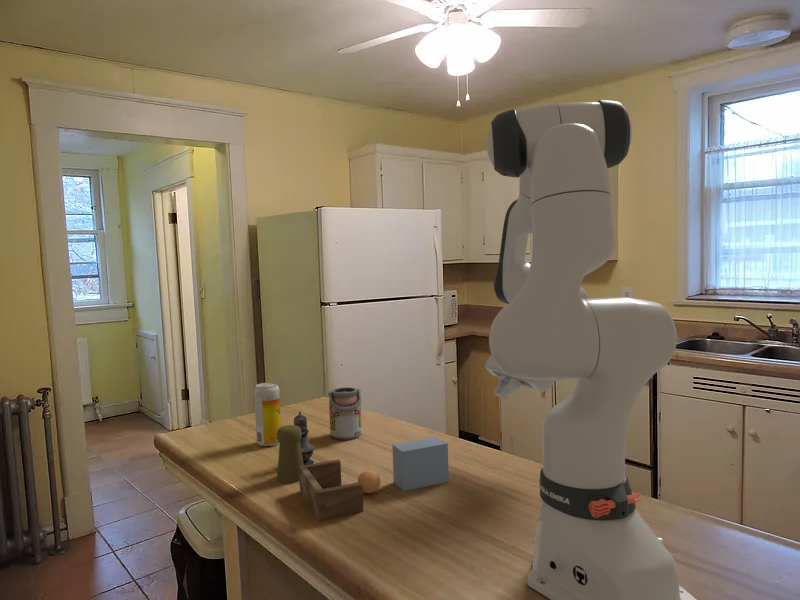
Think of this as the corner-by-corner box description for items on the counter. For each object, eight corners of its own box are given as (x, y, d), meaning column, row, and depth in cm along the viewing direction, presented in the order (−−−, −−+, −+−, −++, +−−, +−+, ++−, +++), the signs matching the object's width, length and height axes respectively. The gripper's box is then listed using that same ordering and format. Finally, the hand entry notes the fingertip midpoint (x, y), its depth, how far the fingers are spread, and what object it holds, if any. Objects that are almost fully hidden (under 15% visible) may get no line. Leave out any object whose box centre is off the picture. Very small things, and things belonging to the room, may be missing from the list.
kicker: (448, 482, 115) (447, 443, 115) (403, 491, 111) (402, 451, 111) (437, 473, 120) (436, 436, 119) (393, 482, 116) (392, 444, 115)
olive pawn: (299, 483, 117) (297, 431, 116) (272, 482, 118) (269, 430, 117) (310, 472, 122) (307, 422, 122) (283, 471, 124) (281, 422, 123)
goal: (363, 511, 103) (362, 484, 103) (319, 520, 100) (317, 493, 99) (339, 483, 116) (338, 459, 116) (300, 490, 113) (298, 466, 113)
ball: (383, 494, 110) (383, 472, 110) (362, 499, 108) (361, 476, 108) (375, 486, 114) (375, 464, 114) (354, 490, 112) (354, 468, 112)
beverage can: (365, 440, 143) (363, 393, 142) (332, 443, 141) (330, 396, 140) (359, 429, 152) (358, 385, 151) (328, 432, 150) (326, 388, 149)
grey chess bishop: (303, 470, 124) (300, 416, 123) (283, 465, 127) (280, 413, 126) (320, 461, 129) (318, 409, 128) (301, 457, 132) (298, 406, 131)
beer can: (286, 441, 144) (284, 383, 143) (269, 449, 139) (266, 388, 138) (269, 438, 147) (266, 381, 146) (251, 445, 142) (248, 386, 141)
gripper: (500, 331, 133) (465, 377, 130) (557, 343, 115) (517, 397, 112) (517, 348, 135) (482, 394, 132) (575, 363, 117) (536, 416, 114)
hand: (499, 396), depth 122 cm, fingers closed
